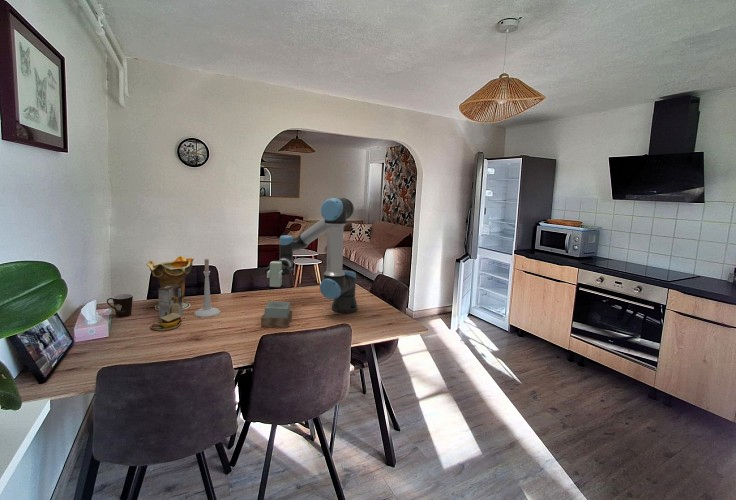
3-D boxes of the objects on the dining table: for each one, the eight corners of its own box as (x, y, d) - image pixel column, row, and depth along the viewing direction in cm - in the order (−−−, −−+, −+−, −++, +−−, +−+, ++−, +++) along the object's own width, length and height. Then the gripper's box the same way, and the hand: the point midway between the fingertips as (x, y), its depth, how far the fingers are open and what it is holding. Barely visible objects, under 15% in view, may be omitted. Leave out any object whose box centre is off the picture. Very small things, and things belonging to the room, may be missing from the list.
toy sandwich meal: (146, 326, 171) (145, 317, 170) (175, 319, 181) (175, 310, 181) (157, 334, 163) (156, 324, 162) (187, 326, 174) (187, 317, 173)
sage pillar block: (281, 284, 185) (282, 261, 183) (279, 286, 180) (280, 263, 178) (271, 284, 185) (272, 261, 183) (269, 286, 180) (269, 263, 178)
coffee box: (172, 313, 189) (171, 284, 186) (183, 315, 187) (182, 285, 185) (158, 319, 180) (157, 288, 177) (170, 321, 179) (169, 289, 176)
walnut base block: (291, 319, 191) (291, 310, 191) (287, 328, 179) (287, 319, 178) (267, 318, 191) (267, 309, 190) (261, 327, 178) (261, 318, 177)
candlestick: (210, 318, 185) (209, 261, 180) (188, 315, 187) (187, 259, 183) (225, 311, 197) (224, 257, 193) (204, 308, 200) (203, 255, 195)
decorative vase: (138, 308, 192) (139, 256, 189) (175, 300, 213) (176, 253, 210) (166, 315, 185) (167, 261, 182) (202, 306, 206) (203, 257, 203)
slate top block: (289, 311, 190) (289, 302, 189) (287, 318, 179) (287, 308, 178) (268, 310, 188) (268, 301, 188) (264, 317, 178) (264, 308, 177)
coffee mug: (137, 314, 185) (136, 295, 183) (120, 319, 177) (119, 299, 175) (123, 310, 190) (122, 292, 188) (105, 314, 182) (104, 295, 180)
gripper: (299, 273, 200) (292, 283, 177) (266, 271, 199) (255, 282, 176) (299, 259, 199) (292, 268, 176) (266, 258, 198) (254, 267, 175)
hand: (273, 275), depth 176 cm, fingers closed on sage pillar block, 5 cm apart
